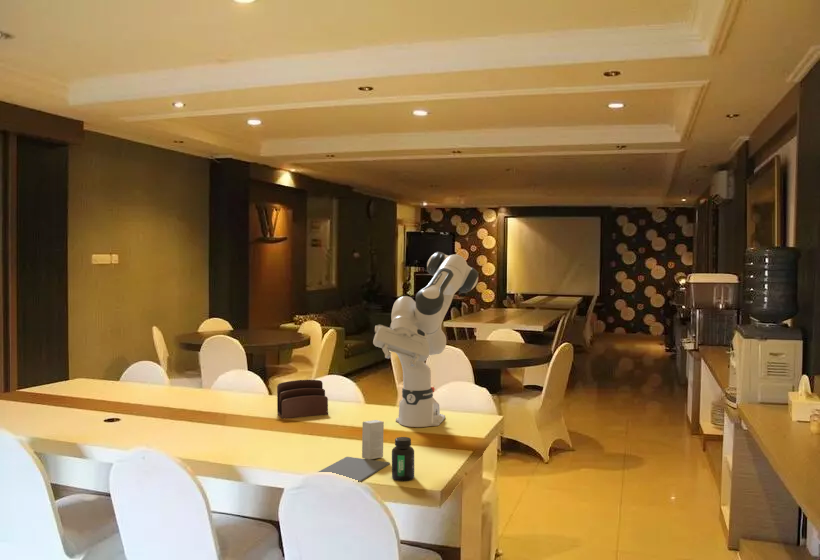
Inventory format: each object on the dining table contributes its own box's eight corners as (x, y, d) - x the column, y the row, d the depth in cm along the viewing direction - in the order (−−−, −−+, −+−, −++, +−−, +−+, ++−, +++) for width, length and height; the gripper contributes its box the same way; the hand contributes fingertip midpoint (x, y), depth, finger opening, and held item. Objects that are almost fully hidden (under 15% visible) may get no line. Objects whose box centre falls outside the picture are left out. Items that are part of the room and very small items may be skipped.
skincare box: (374, 455, 236) (375, 419, 236) (383, 457, 233) (384, 421, 233) (361, 457, 232) (362, 421, 232) (369, 460, 228) (370, 423, 229)
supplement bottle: (403, 483, 207) (403, 443, 207) (387, 478, 212) (387, 439, 211) (419, 477, 212) (418, 438, 212) (402, 472, 217) (402, 434, 216)
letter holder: (277, 414, 298) (276, 381, 298) (322, 410, 306) (322, 378, 305) (281, 419, 289) (281, 385, 288) (328, 414, 296) (328, 381, 296)
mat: (346, 458, 233) (346, 456, 233) (389, 463, 226) (389, 462, 226) (314, 475, 215) (314, 473, 215) (359, 482, 208) (359, 480, 208)
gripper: (378, 317, 245) (375, 346, 234) (431, 335, 249) (430, 364, 239) (372, 329, 248) (368, 357, 238) (424, 346, 253) (423, 375, 243)
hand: (400, 361), depth 239 cm, fingers open, 8 cm apart
